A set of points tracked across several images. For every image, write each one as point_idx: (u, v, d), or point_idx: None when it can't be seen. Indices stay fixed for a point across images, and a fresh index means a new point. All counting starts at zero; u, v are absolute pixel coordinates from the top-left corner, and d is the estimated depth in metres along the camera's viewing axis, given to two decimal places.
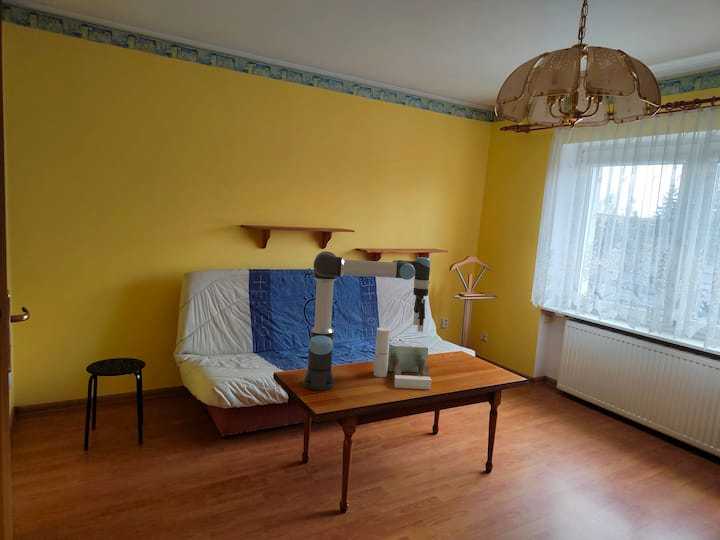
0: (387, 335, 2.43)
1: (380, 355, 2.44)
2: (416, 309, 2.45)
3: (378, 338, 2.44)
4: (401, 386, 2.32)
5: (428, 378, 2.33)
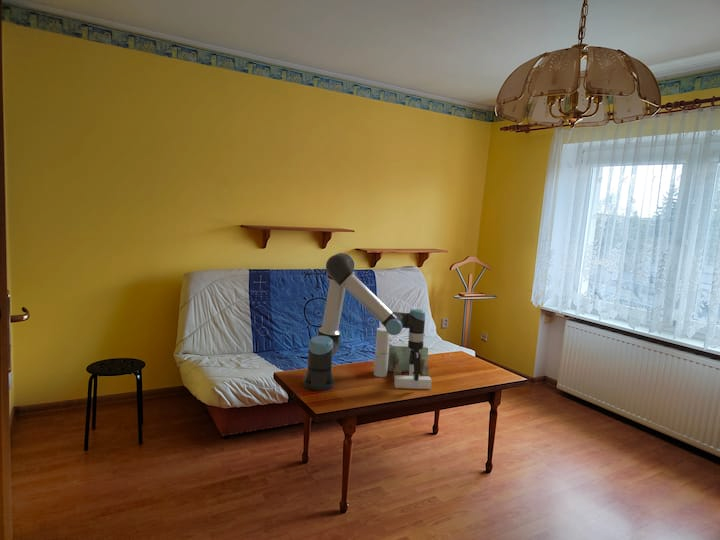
0: (387, 335, 2.43)
1: (380, 355, 2.44)
2: (411, 361, 2.39)
3: (378, 338, 2.44)
4: (401, 386, 2.32)
5: (428, 378, 2.34)
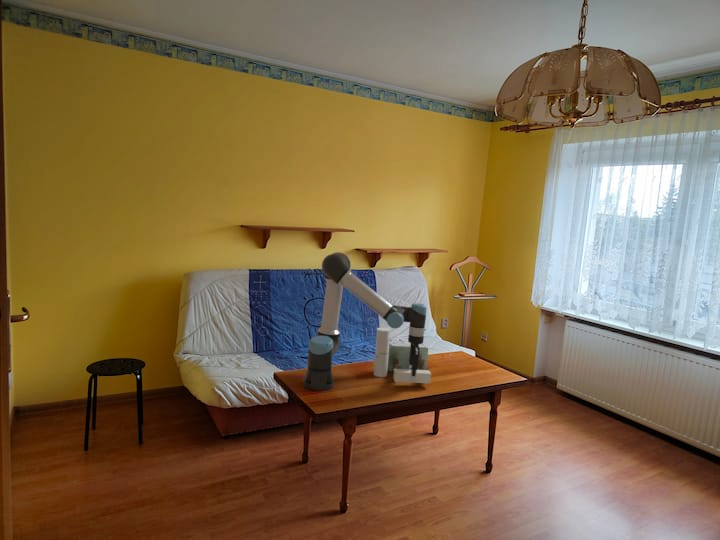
0: (387, 335, 2.43)
1: (380, 355, 2.44)
2: (411, 360, 2.36)
3: (378, 338, 2.44)
4: (401, 380, 2.31)
5: (428, 372, 2.34)
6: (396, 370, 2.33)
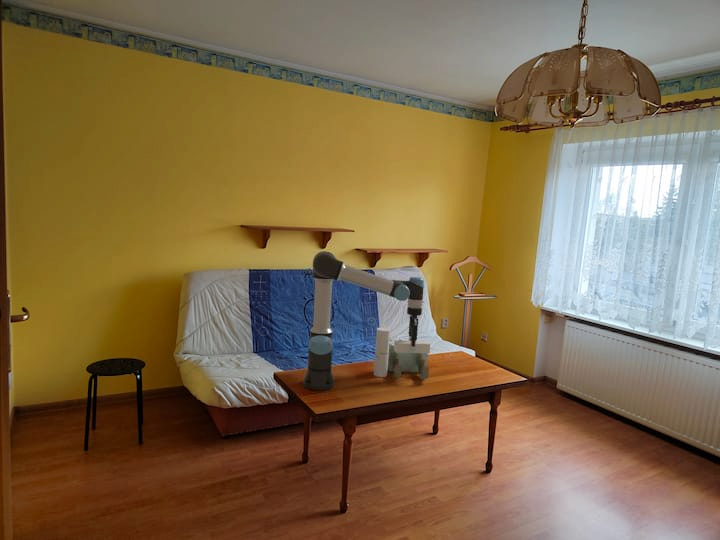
0: (387, 335, 2.43)
1: (380, 355, 2.44)
2: (411, 331, 2.45)
3: (378, 338, 2.44)
4: (401, 350, 2.41)
5: (427, 343, 2.43)
6: (396, 341, 2.42)
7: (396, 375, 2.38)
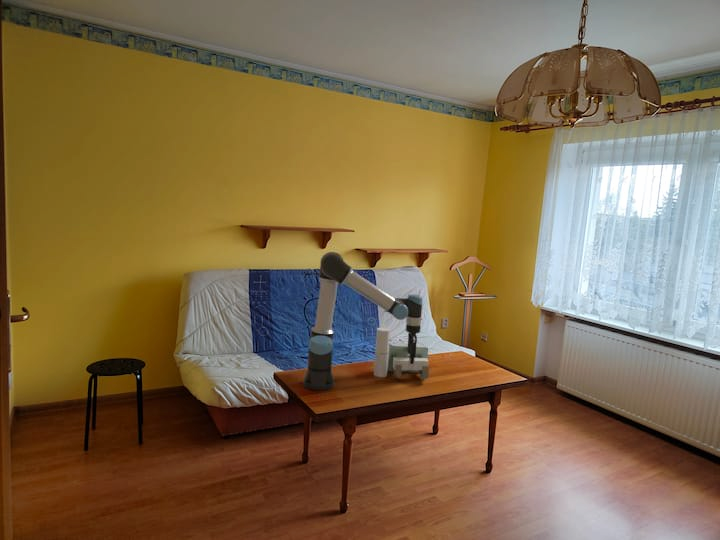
0: (387, 335, 2.43)
1: (380, 355, 2.44)
2: (409, 348, 2.46)
3: (378, 338, 2.44)
4: None
5: (425, 360, 2.44)
6: (395, 359, 2.44)
7: (396, 375, 2.38)
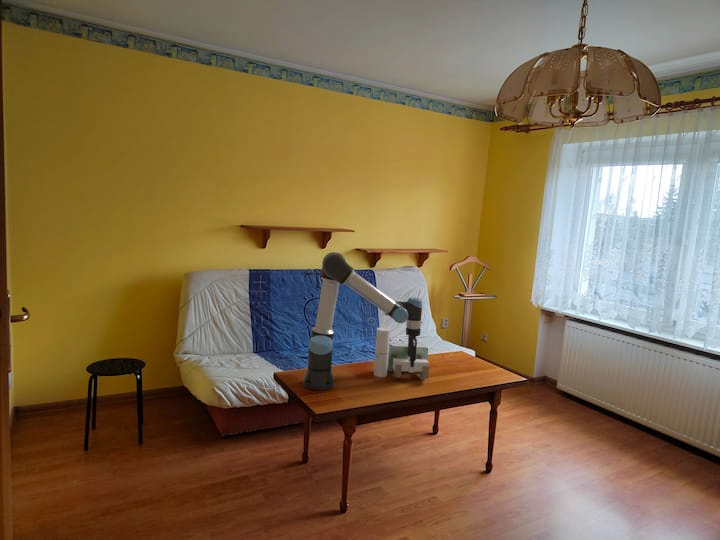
0: (387, 335, 2.43)
1: (380, 355, 2.44)
2: (409, 351, 2.46)
3: (378, 338, 2.44)
4: None
5: (425, 361, 2.44)
6: (395, 359, 2.44)
7: (396, 375, 2.38)
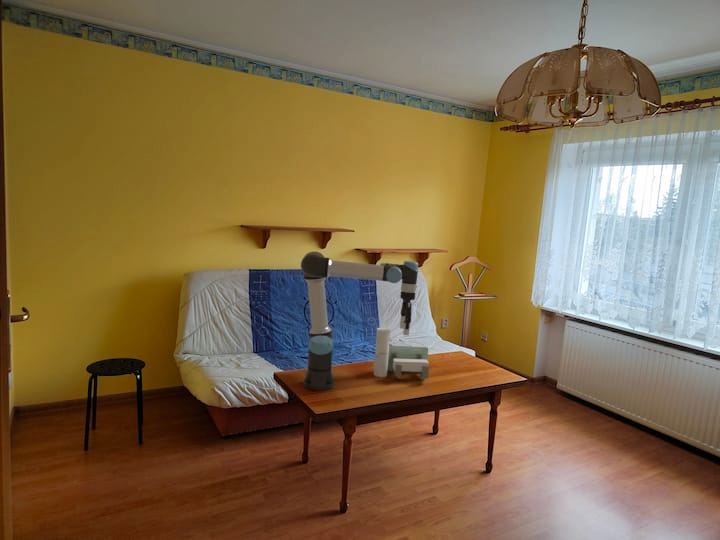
0: (387, 335, 2.43)
1: (380, 355, 2.44)
2: (403, 313, 2.45)
3: (378, 338, 2.44)
4: None
5: (425, 361, 2.44)
6: (395, 359, 2.44)
7: (396, 375, 2.38)
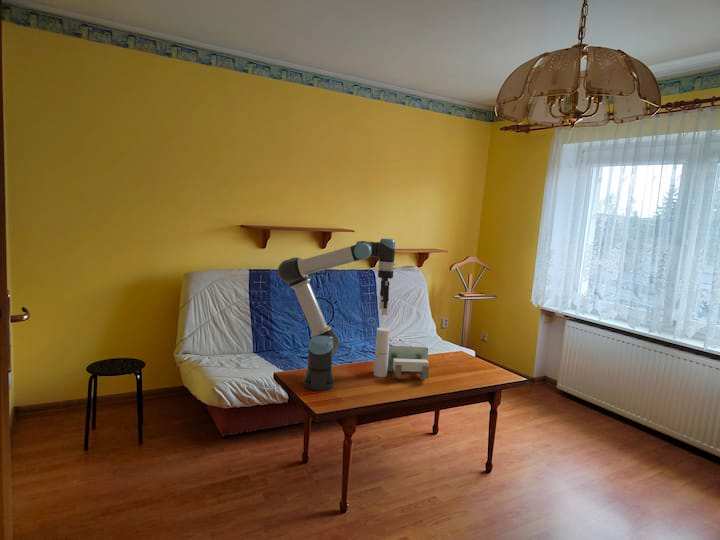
0: (387, 335, 2.43)
1: (380, 355, 2.44)
2: (382, 292, 2.38)
3: (378, 338, 2.44)
4: None
5: (425, 361, 2.44)
6: (395, 359, 2.44)
7: (396, 375, 2.38)
